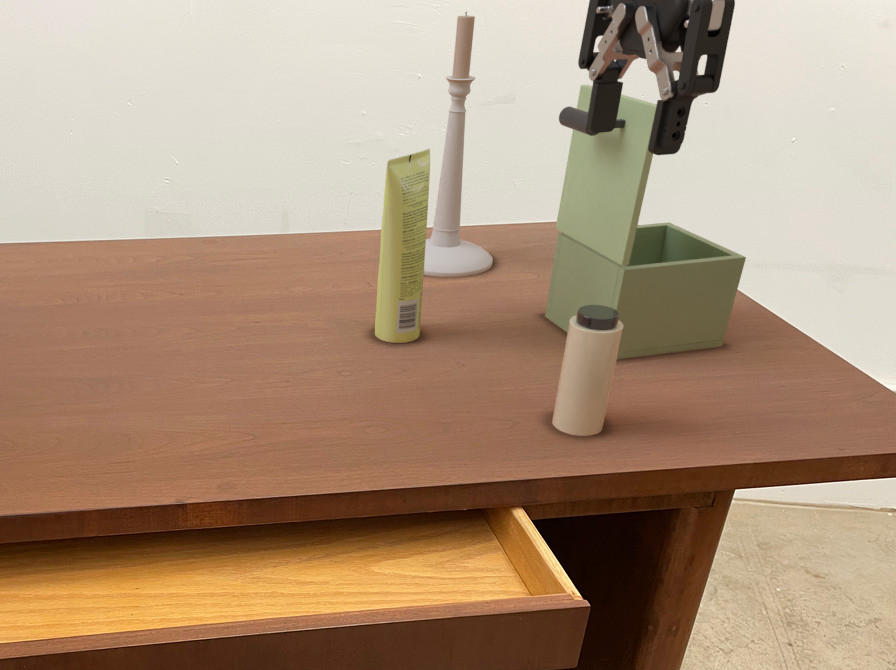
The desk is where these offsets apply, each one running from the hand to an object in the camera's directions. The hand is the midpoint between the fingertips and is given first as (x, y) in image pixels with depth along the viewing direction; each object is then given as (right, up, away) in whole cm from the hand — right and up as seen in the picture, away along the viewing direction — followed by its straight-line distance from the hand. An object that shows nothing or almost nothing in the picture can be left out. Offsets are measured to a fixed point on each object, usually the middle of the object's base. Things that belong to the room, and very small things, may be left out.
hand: (629, 142), depth 71 cm
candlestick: (-4, +3, +52) cm, 52 cm away
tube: (-13, -10, +31) cm, 35 cm away
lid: (+6, +4, +20) cm, 22 cm away
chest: (+13, -10, +31) cm, 35 cm away
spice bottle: (0, -21, +13) cm, 25 cm away
